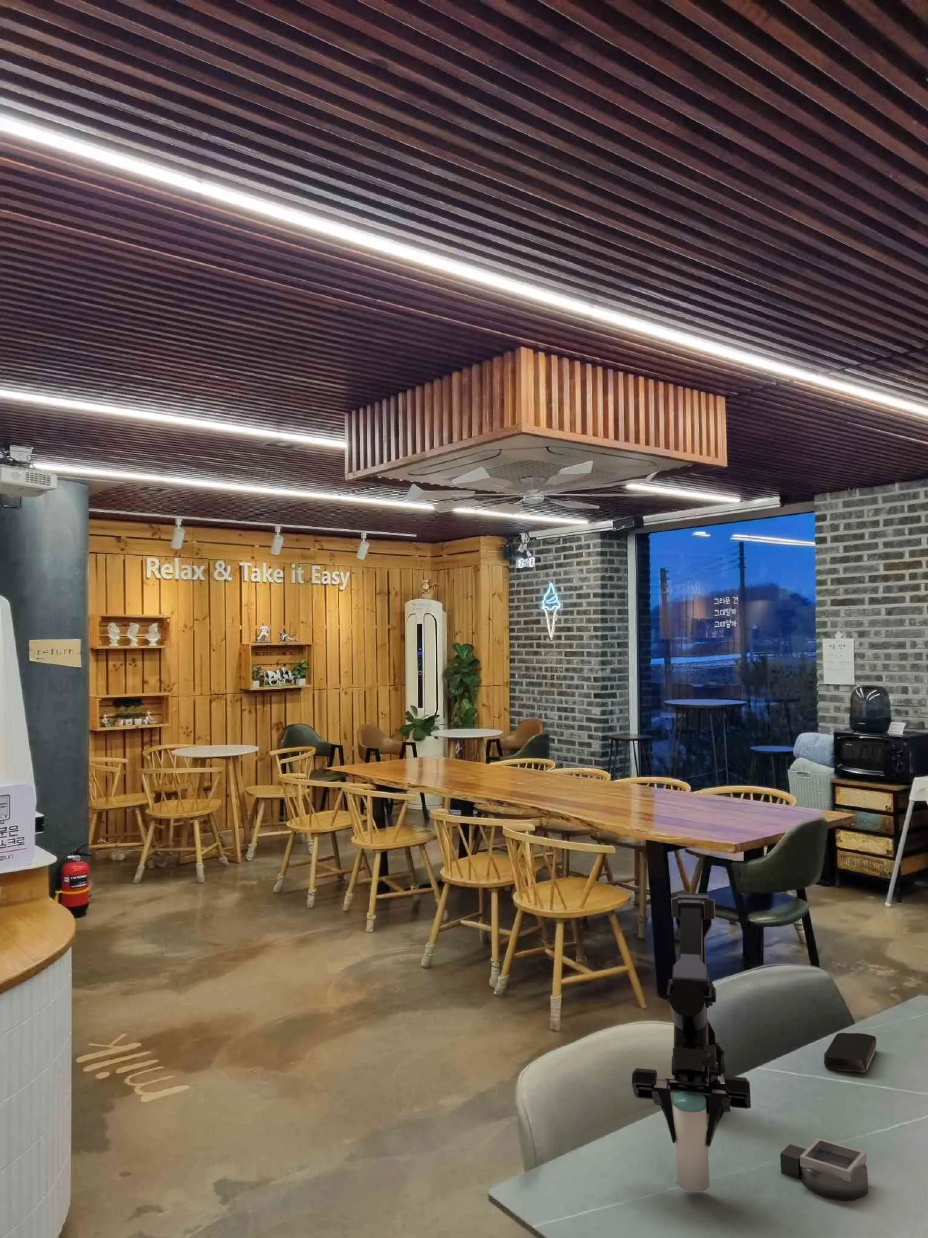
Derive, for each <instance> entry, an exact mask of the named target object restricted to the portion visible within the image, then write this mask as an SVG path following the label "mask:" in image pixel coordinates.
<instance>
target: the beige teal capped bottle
mask: <svg viewBox="0 0 928 1238" xmlns="http://www.w3.org/2000/svg"><path fill="white" fill-rule="evenodd" d="M673 1116H674V1125H675V1143H674V1144H675V1161H676V1162H675V1163H676V1182H677V1183H676V1184H677V1185H678V1186H679V1187H680V1188H681V1189H683V1190H685V1191H688V1192H693V1193H695V1192H696V1193H697V1192H704V1191H707V1190H708V1189H709V1188H710V1163H709V1162H710V1161H709V1147H707V1128H708V1120H707V1113H706V1099H705V1097H704V1096H703V1095H701V1094H699V1093H696V1092H689V1091H685V1092H679V1093H675V1094H674V1095H673Z"/></svg>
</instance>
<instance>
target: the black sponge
mask: <svg viewBox="0 0 928 1238" xmlns="http://www.w3.org/2000/svg"><path fill="white" fill-rule="evenodd" d="M876 1051H877V1037H876V1036H875V1035H871V1034H868V1033H867V1034H866V1033H861V1032H853V1033H851V1032H849V1033H848V1032H839V1033H837V1034H836V1035H835V1036H834V1038H833V1039H832V1041H831V1043H830V1045H829V1047H828V1048H827V1049H826V1051H825V1053H823V1065H824V1066H825V1068H826V1069H828V1070H833V1071H835V1070H836V1071H841V1072H854V1073H866V1072H867V1071H868V1069H869V1068H870V1065H871V1062H872V1060H873V1058H874V1055H875V1053H876Z"/></svg>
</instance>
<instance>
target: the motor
mask: <svg viewBox="0 0 928 1238" xmlns="http://www.w3.org/2000/svg"><path fill="white" fill-rule="evenodd" d="M779 1158H780V1159H779V1160H780V1173H781V1174H785V1175H787V1176H791V1177H794V1178H797V1179H800V1178H801V1182H802V1184H803V1186H805V1188H806V1189H808V1190H809V1191H810V1192H812V1193H814V1194H815V1195H818V1196H820V1197H822V1198H823V1197H824V1198H825V1199H829V1200H834V1201H840V1202H841V1201H842V1202H843V1201H844V1202H846V1201H847V1202H848V1201H850V1202H851V1201H857V1200H860V1199H862V1198H864V1197H865V1196H867V1194H869V1178H868V1177H869V1176H868V1173H869V1172H868V1167H867V1165H866V1164H867V1162H868V1161H867V1152H866V1151H863V1150H859V1149H856V1148H853V1147H850V1146H846V1145H842V1144H839V1143H837V1142H833V1141H830V1140H826V1139H823V1138H821V1137H820V1138H819V1137H817V1138H816V1139H815V1140H814V1141H813V1142H812V1143H811V1144H810V1145H809V1146H808V1147H807V1148H803V1147H801V1146H797V1145H794V1144H790V1143H789V1144H788V1145H787V1146H786V1147H785V1148H784V1149H783V1150H782V1151H781V1152H780V1153H779Z"/></svg>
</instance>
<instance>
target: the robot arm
mask: <svg viewBox="0 0 928 1238" xmlns="http://www.w3.org/2000/svg"><path fill="white" fill-rule="evenodd" d="M671 917H672V918H675V924H676V926H677V928H678V929H679V938H680V939H679V959H678V960H677V961H676V962H675V963H674V964H673V965H672V974H671V975H672V976H671V978H669V979H668V981H667V989H666V1001H667V1004H669V1005H670V1011H671V1013H670V1014H671V1019H672V1022H673V1047H672V1056H671V1075H672V1076H673V1077H672V1078H673V1079H672V1078H666V1077H660V1076H659V1077H658V1072H657V1069H650V1068H639V1067H638V1068H637V1067H636V1068H634V1070H633V1071H632V1073H631V1087H632V1090H633V1094H634V1097H635V1098H637V1099H641V1100H643V1099H644V1100H651V1101H653V1104H654V1105H655V1106H660V1108H661V1110H662V1112H663V1115H664V1118H665V1120H666V1124H667V1127H668V1131H669V1134H670V1137H671V1141H672V1144H676V1143H675V1120H674V1106H673V1100H672V1095H671V1094H672V1093H675V1094H677V1093H679V1092H685V1091H689V1092H696V1093H699V1094H701V1095H703V1096H704V1097H705V1099H706V1114H707V1113H708V1120H707V1147H708V1148H710V1147H711V1145H712V1142H713V1139H714V1136H715V1133H716V1131H717V1127H718V1125H719V1123H720V1121H721V1120H722V1117H723V1116H724V1114H725V1113H730V1112H731V1108H735V1109H744V1110H748V1109H752V1104H751V1103H752V1101H751V1083H750V1080H749V1079H748V1078H747V1077H741V1076H730V1075H724V1083H721V1080H719V1077H722V1075H723V1074H726V1063H725V1061H726V1059H725V1051H724V1050H723V1049H722V1046H721V1043H720V1042H717V1033H716V1030H714V1028H713V1026H712V1024H711V1022H710V1020H709V1019H708V1009H709V1008H710V1007H713V1004H714V1003H717V987H715V984H714V983H713V981H709V980H710V979H709V978H710V977H709V969H708V966H707V964H706V963H707V962H706V938H707V937H708V935H709V933H710V931H711V930H712V928H713V920H714V919H716V904H715V899H714V898H713V899H710V898H709V893H698V892H697V893H696V892H678V893H677V897H672V898H671Z"/></svg>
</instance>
